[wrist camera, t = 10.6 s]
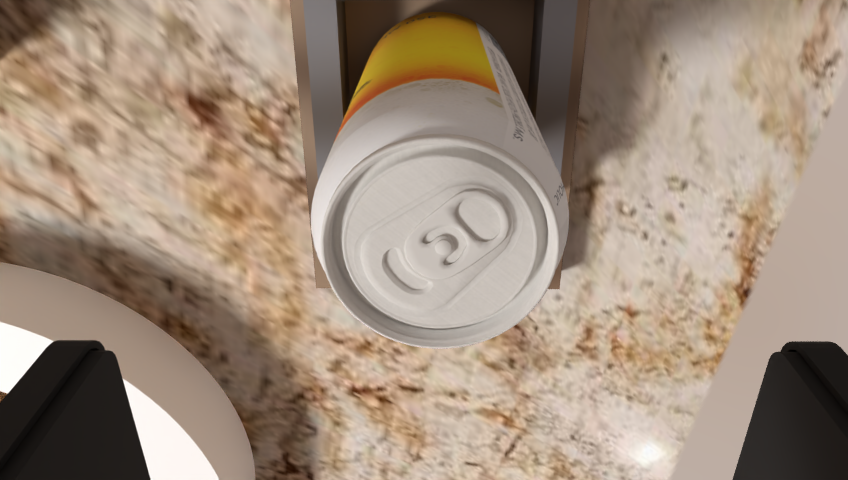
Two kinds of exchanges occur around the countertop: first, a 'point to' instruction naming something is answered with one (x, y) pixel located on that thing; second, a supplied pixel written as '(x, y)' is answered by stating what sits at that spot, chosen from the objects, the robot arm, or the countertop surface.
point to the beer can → (439, 191)
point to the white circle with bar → (129, 373)
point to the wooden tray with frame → (483, 3)
